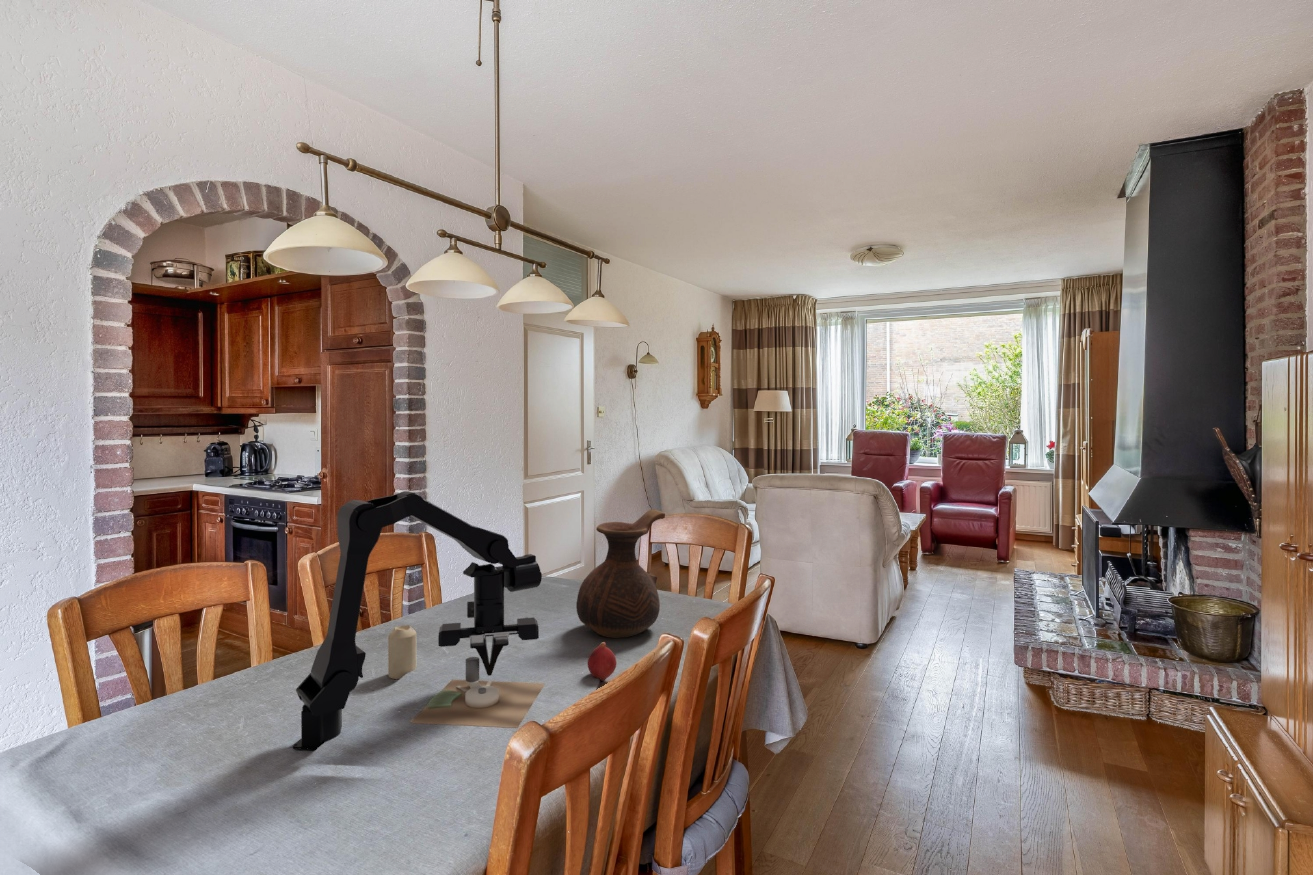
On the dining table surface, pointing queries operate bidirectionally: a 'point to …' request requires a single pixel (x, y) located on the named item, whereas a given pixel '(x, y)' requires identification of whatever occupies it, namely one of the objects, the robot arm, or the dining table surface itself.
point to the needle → (478, 687)
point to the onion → (602, 662)
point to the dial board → (504, 713)
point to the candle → (401, 651)
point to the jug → (620, 584)
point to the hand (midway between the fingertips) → (489, 674)
